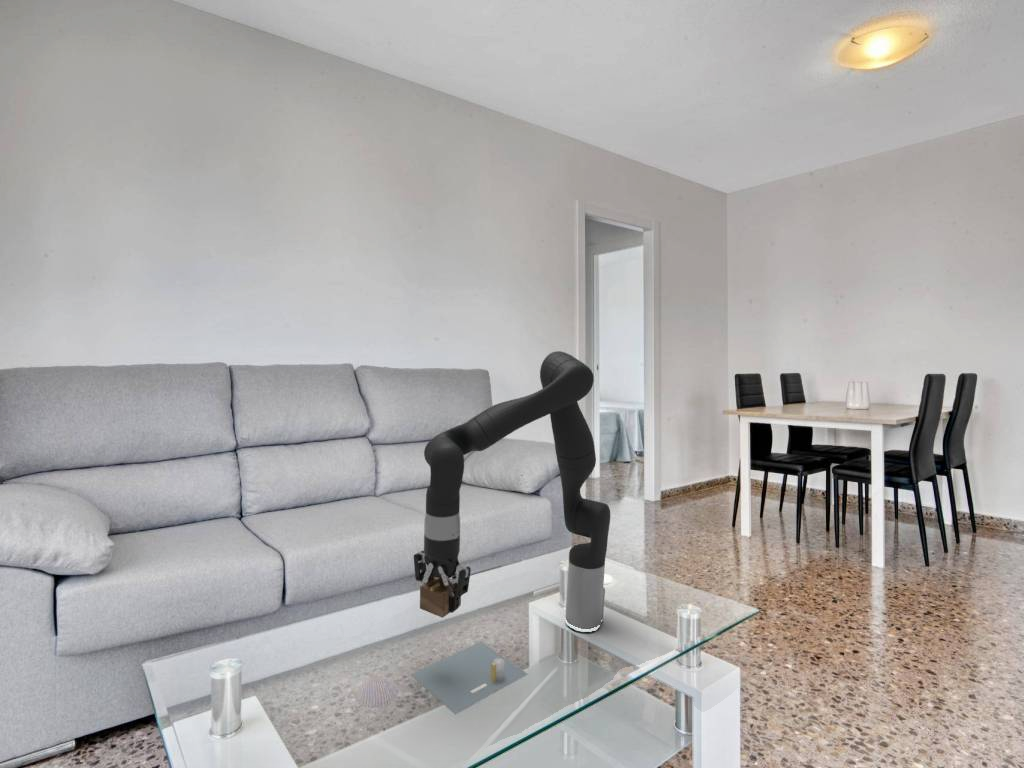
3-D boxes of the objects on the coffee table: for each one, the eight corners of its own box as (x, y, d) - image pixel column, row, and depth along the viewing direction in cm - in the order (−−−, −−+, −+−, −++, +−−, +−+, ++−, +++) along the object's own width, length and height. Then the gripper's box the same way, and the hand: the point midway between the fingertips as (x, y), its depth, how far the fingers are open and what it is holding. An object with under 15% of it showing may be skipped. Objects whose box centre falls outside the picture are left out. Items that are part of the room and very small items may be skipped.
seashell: (393, 664, 129) (407, 681, 120) (394, 690, 129) (408, 709, 120) (346, 675, 124) (357, 694, 116) (346, 702, 124) (358, 723, 115)
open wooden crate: (438, 596, 131) (439, 572, 130) (460, 605, 128) (461, 580, 127) (419, 608, 126) (420, 583, 125) (442, 617, 123) (442, 592, 122)
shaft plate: (481, 646, 142) (481, 625, 141) (527, 678, 131) (528, 657, 130) (410, 679, 129) (410, 657, 128) (455, 719, 117) (455, 695, 116)
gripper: (404, 529, 125) (403, 602, 127) (458, 546, 117) (456, 624, 120) (427, 518, 131) (426, 589, 134) (480, 534, 124) (478, 609, 126)
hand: (440, 605), depth 127 cm, fingers closed on open wooden crate, 6 cm apart
